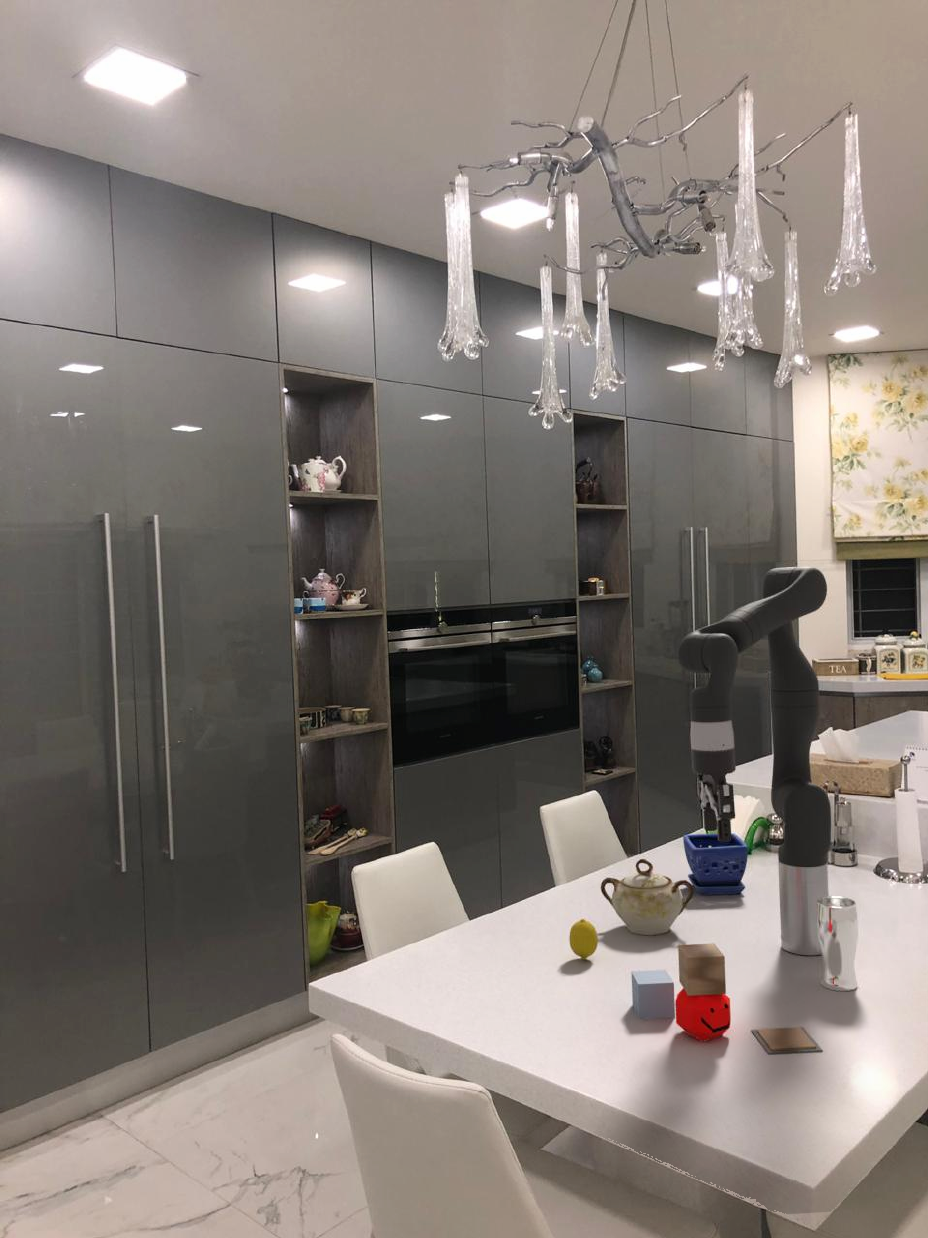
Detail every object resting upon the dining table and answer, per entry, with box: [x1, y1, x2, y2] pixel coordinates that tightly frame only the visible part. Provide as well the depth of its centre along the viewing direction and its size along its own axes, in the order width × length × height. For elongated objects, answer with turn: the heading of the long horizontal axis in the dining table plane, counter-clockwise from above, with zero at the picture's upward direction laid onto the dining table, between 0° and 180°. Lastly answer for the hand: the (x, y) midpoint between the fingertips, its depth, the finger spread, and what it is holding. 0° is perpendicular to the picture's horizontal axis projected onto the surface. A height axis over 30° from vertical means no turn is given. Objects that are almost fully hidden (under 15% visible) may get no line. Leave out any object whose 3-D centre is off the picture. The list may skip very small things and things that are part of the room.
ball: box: [674, 987, 732, 1043], centre depth 163 cm, size 8×8×8 cm
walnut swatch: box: [750, 1026, 824, 1055], centre depth 160 cm, size 8×8×1 cm
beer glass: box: [817, 895, 859, 992], centre depth 181 cm, size 7×7×15 cm
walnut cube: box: [677, 943, 727, 996], centre depth 163 cm, size 6×6×6 cm
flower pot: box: [682, 832, 749, 896], centre depth 242 cm, size 13×13×12 cm
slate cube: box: [630, 969, 676, 1020], centre depth 173 cm, size 6×6×6 cm
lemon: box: [568, 918, 599, 960], centre depth 199 cm, size 6×6×8 cm
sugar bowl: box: [600, 858, 695, 936], centre depth 215 cm, size 20×15×15 cm
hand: (717, 836), depth 181 cm, fingers open, 8 cm apart
